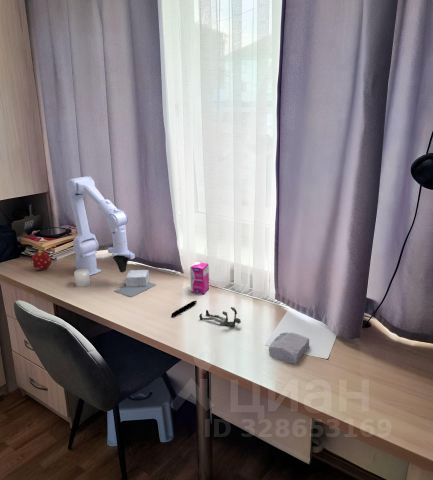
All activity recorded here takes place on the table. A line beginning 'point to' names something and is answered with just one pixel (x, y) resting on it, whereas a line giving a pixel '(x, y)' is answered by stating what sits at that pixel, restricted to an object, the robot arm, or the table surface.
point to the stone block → (289, 347)
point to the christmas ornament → (41, 260)
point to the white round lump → (82, 278)
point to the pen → (183, 309)
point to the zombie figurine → (223, 320)
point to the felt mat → (134, 289)
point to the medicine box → (137, 278)
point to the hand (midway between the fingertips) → (122, 271)
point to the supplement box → (199, 278)
